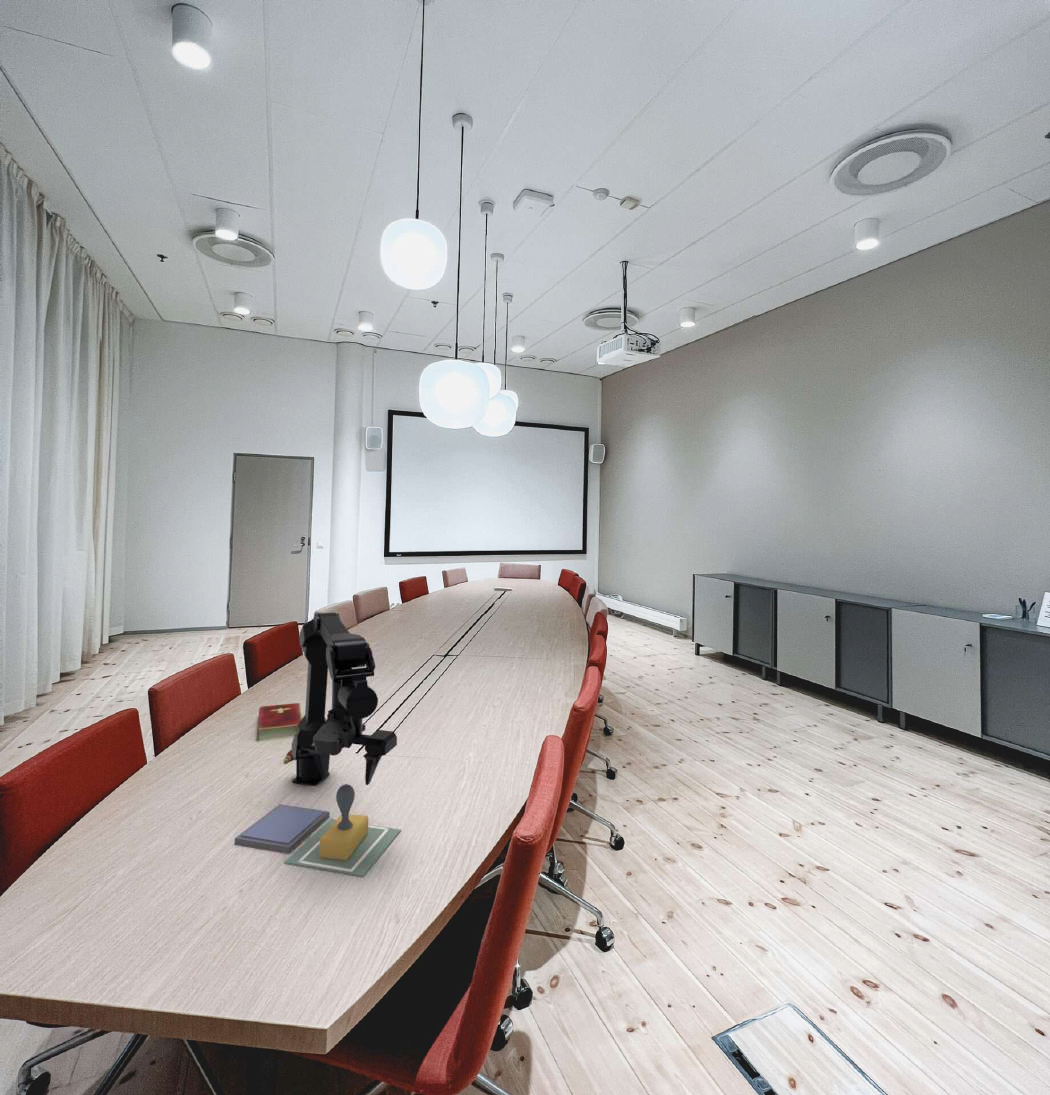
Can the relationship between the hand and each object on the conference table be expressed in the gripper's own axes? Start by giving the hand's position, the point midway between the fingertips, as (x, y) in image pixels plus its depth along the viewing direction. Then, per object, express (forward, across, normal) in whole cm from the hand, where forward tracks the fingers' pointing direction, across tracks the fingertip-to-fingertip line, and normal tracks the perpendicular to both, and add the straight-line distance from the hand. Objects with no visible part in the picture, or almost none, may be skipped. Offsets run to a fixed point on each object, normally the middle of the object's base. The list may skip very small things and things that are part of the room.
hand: (346, 781), depth 113 cm
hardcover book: (+14, -52, +52) cm, 75 cm away
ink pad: (+13, -15, +2) cm, 20 cm away
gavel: (+14, -35, +40) cm, 55 cm away
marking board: (+13, 0, 0) cm, 13 cm away
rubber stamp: (+13, 0, 0) cm, 13 cm away
